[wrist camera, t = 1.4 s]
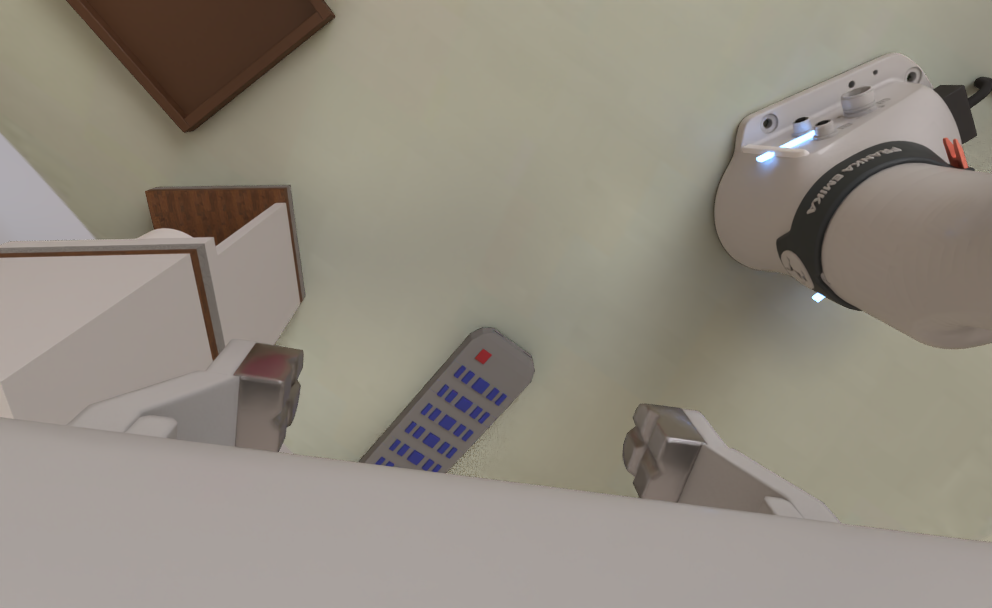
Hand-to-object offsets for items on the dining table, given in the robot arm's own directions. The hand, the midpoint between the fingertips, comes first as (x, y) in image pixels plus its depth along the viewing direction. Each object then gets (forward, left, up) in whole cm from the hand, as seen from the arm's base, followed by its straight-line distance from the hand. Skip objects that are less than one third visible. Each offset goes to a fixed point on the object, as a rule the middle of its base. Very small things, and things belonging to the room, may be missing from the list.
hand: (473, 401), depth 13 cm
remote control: (+17, +21, -40) cm, 48 cm away
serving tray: (+9, -23, -40) cm, 47 cm away
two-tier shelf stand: (+21, -6, -40) cm, 45 cm away
